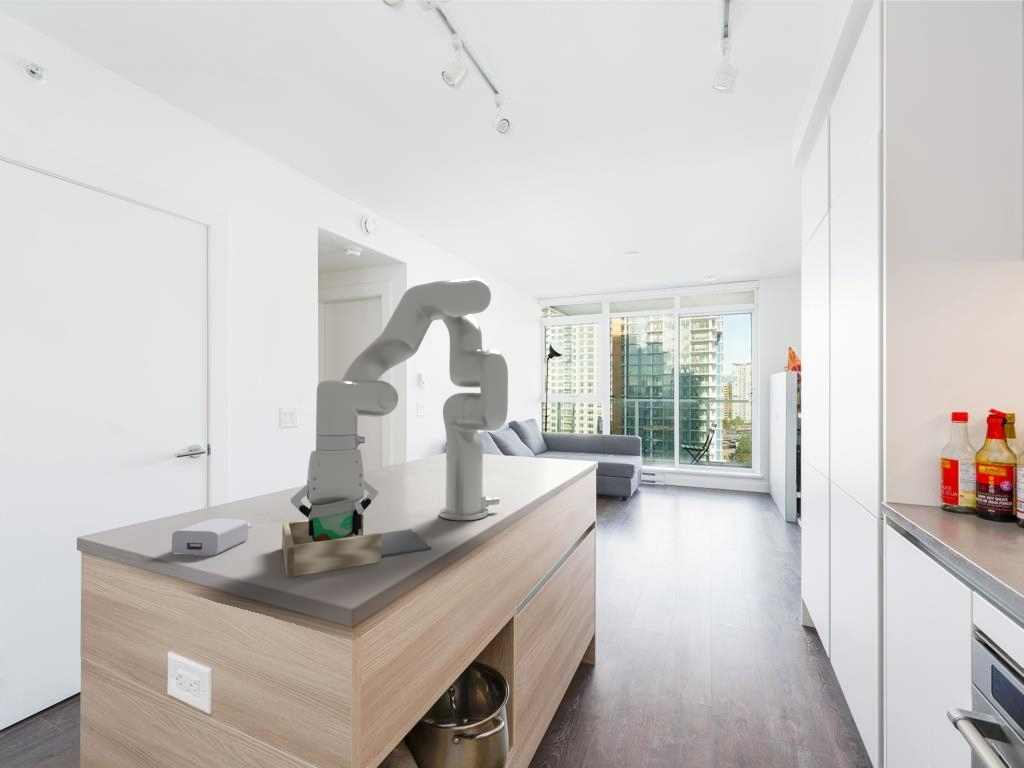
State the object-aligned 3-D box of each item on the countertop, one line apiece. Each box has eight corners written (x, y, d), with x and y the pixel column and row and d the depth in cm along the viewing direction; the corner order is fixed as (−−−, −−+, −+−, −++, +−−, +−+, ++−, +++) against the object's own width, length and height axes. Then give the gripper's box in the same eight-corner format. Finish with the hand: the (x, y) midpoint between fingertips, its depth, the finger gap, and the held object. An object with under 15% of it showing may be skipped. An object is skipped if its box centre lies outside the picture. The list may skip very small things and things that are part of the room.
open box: (362, 536, 98) (362, 513, 98) (381, 561, 83) (381, 534, 83) (282, 548, 90) (282, 522, 91) (287, 577, 76) (288, 547, 76)
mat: (410, 530, 103) (410, 529, 103) (431, 548, 91) (431, 546, 91) (365, 537, 98) (365, 535, 98) (380, 557, 86) (380, 555, 86)
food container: (348, 559, 82) (344, 504, 82) (313, 562, 82) (310, 506, 82) (366, 538, 94) (364, 490, 95) (336, 540, 94) (334, 492, 94)
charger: (265, 533, 101) (217, 557, 86) (226, 532, 101) (171, 555, 87) (266, 512, 101) (217, 531, 86) (227, 511, 102) (172, 530, 87)
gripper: (377, 440, 96) (376, 525, 95) (285, 444, 87) (284, 537, 87) (386, 443, 89) (385, 534, 89) (288, 448, 81) (286, 549, 80)
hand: (335, 535), depth 88 cm, fingers closed on food container, 6 cm apart
